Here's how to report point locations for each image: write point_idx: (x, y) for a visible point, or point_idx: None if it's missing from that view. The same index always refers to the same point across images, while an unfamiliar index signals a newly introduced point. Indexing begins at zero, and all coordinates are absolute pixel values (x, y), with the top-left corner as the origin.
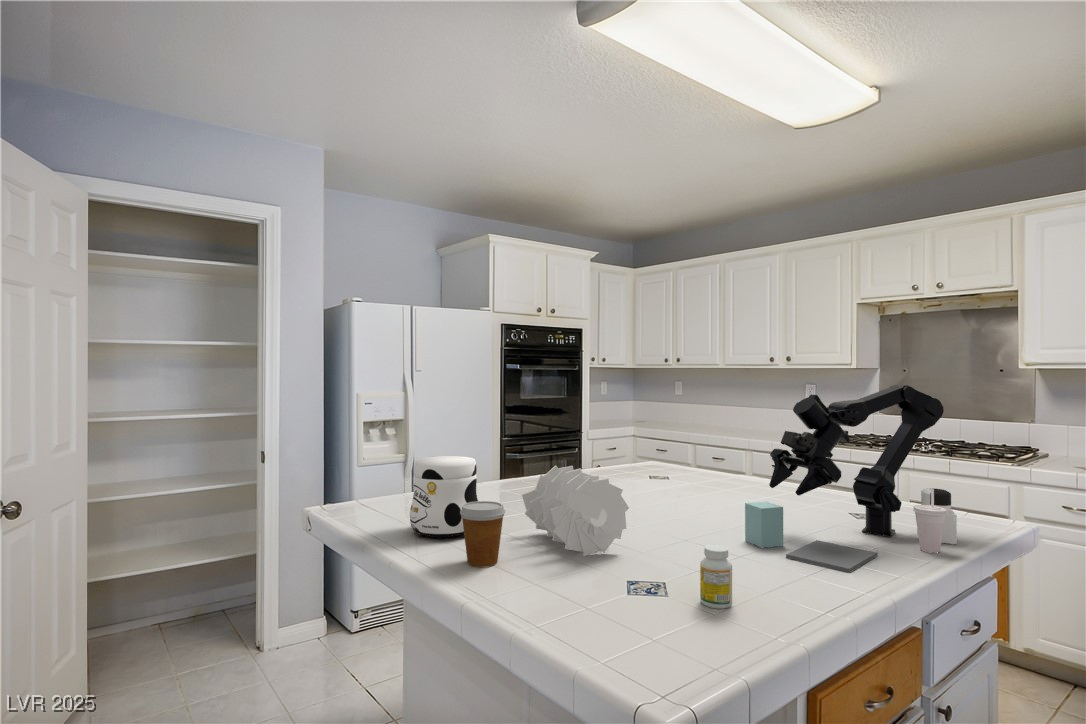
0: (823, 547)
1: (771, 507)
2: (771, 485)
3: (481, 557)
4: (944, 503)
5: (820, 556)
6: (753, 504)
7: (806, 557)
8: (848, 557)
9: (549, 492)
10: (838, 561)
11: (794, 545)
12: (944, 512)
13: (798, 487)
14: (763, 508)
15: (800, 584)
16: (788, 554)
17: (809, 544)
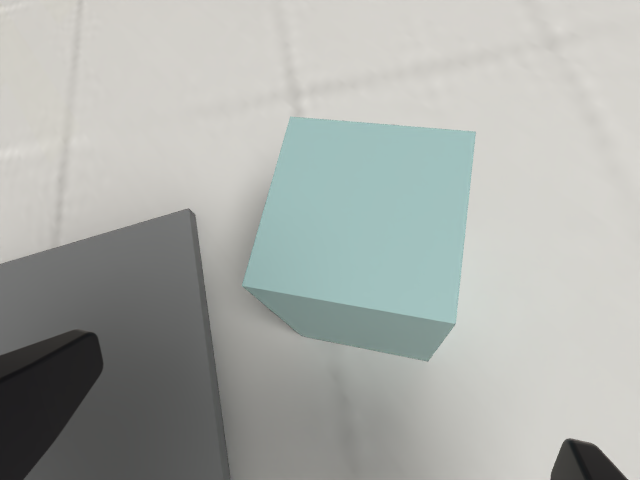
0: (142, 439)
1: (275, 194)
2: (565, 462)
3: None
4: None
5: (92, 301)
6: (409, 151)
7: (121, 243)
8: None
9: None
10: (23, 310)
11: (282, 395)
12: None
13: (28, 360)
14: (286, 132)
15: (50, 83)
16: (181, 213)
17: (208, 422)
